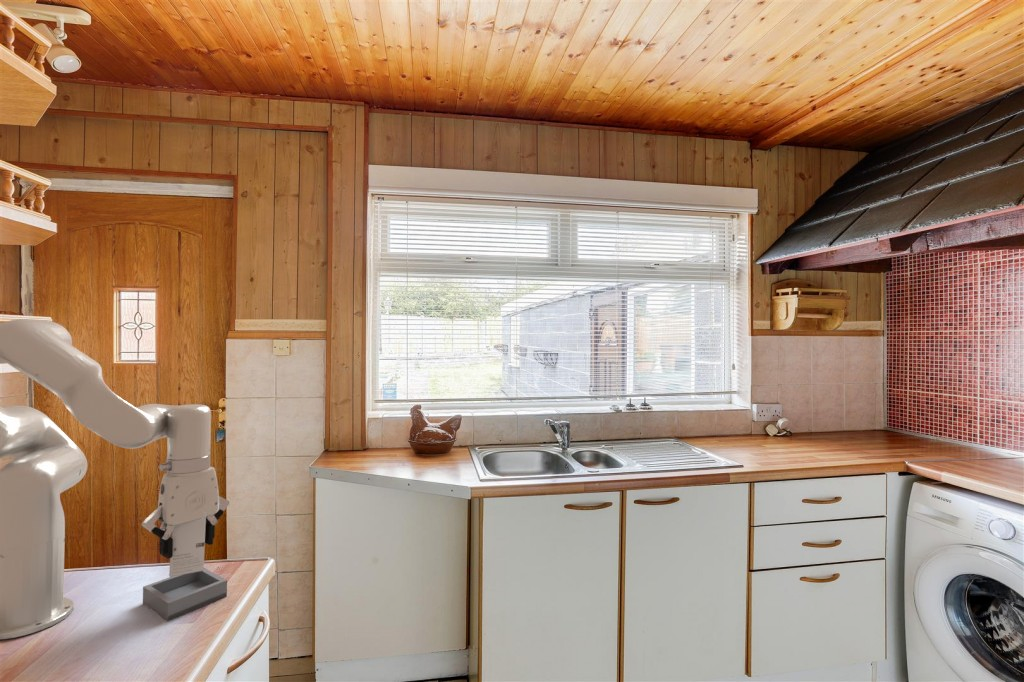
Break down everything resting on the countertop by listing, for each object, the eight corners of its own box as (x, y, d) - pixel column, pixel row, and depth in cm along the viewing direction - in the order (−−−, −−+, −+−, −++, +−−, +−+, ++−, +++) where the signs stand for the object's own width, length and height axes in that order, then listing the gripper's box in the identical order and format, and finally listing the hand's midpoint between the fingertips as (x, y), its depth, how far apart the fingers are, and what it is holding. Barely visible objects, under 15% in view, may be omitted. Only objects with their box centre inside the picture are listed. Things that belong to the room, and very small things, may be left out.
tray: (142, 603, 99) (143, 586, 99) (200, 581, 108) (201, 566, 108) (167, 621, 93) (168, 603, 93) (226, 596, 102) (227, 580, 102)
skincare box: (169, 578, 97) (169, 518, 97) (170, 569, 101) (170, 511, 101) (205, 570, 100) (206, 512, 100) (204, 562, 104) (205, 506, 104)
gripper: (148, 477, 91) (147, 571, 91) (240, 458, 106) (239, 539, 106) (131, 471, 95) (130, 561, 95) (222, 454, 110) (221, 531, 110)
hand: (187, 549), depth 101 cm, fingers closed on skincare box, 7 cm apart
